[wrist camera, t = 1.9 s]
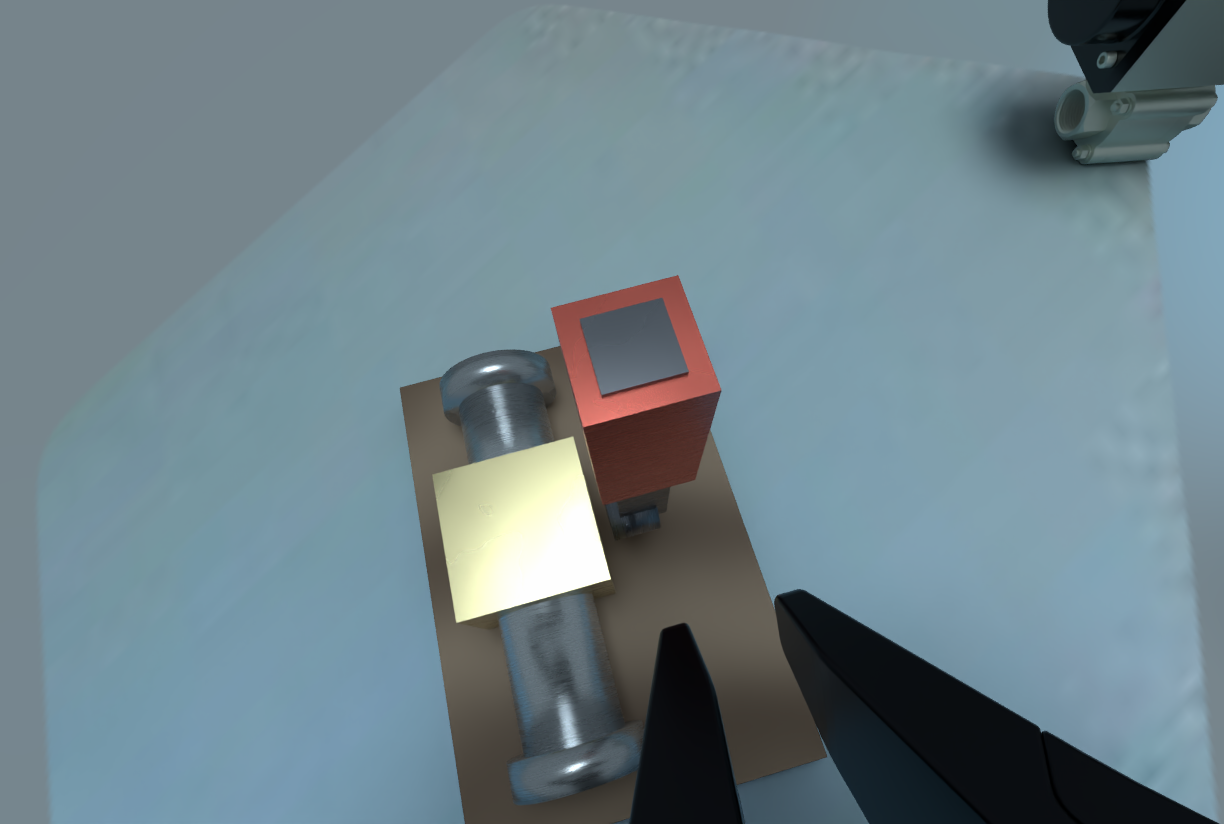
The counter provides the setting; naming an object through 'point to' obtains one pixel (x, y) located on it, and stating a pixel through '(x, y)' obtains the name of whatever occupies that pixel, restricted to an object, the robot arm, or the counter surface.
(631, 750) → the valve body
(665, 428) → the lever
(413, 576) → the counter surface
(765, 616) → the mounting board
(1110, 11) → the pneumatic valve
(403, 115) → the counter surface
